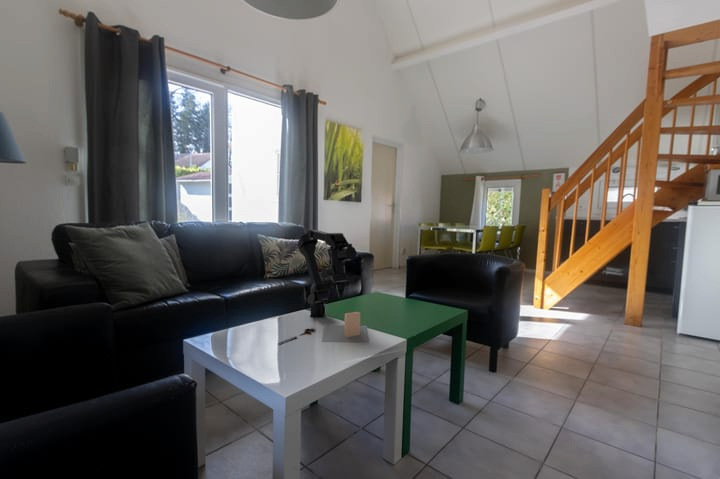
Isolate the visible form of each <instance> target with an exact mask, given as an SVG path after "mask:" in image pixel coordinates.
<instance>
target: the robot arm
mask: <svg viewBox="0 0 720 479" xmlns="http://www.w3.org/2000/svg"><path fill="white" fill-rule="evenodd" d="M319 241H320V242H321V241H322V242H325V244H326V245H327V246H329V248H328V249H327V252H328V253H330V261H331V263H330V268H325V267H324V268H321V271H320V270H319V266H318V262H317V259H316V255H315V253H316V250H317V244H318V243H319ZM296 245H297V248H298V250H299V252H300V254H301V255H303V257H304V260H305V262H306V263H305V264H306V268H307V271H308V274H309V279H310V282H311V286H310V289H309V291H310V294H309V295H308V296H307V298H306V300H307V304H310V315H309V318H324V317H325V315H326V311H327V310H326V309H327V308H326V307H327V306H326V304H327V303H328V302H329V299H330V289H329V287H328V286H329V285H328V283H327V282H323V280H325V279H327V278H328V277H330V280H331V281H332V283H333V284H334V285H335V286H336V290H337V293H338V297H339V298H342V297H343V294H344V291H345V288H346V284H347V281H349V275H347V273H346V267H345V266H346V263H345V261H353V260H355V259H356V258H357V254H358V253H357V249H356V248H355V247H354V246H353V244H352V243H349V242H348V240H347V238H346V237H345V235H344V233H342V232H326V231H322V230H319V229H308V231H307V232H306V233H305V234H303V235H302V236H300V238H299V239H298V241H297V244H296Z"/></svg>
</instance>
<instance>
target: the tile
mask: <svg viewBox="0 0 720 479" xmlns="http://www.w3.org/2000/svg"><path fill="white" fill-rule="evenodd" d="M343 325H344V336H345V337H352V336H357V335H360V326H361V312H359V311H353V312H346V313H344V324H343Z"/></svg>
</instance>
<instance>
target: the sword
mask: <svg viewBox="0 0 720 479" xmlns="http://www.w3.org/2000/svg"><path fill="white" fill-rule="evenodd" d="M316 329H317V328H316V327H315V328H313V327H312V328H305V330H304V332H303V333H301V334H299V335H298V337H301V336H305V335H312V333H313V332H316ZM294 339H297V336H296V335H295V336H292V337H290V338H286V339H284V340H282V341H280V342H278V343H277V345H278V346H281V345H283V344H286V343H287V342H289V341H291V340H294Z"/></svg>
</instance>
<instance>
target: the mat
mask: <svg viewBox="0 0 720 479" xmlns="http://www.w3.org/2000/svg"><path fill="white" fill-rule="evenodd" d="M322 334H323V335H322V338H321V342H322V343H323V342H324V343H364V344H365V343H368V344H369V343H370V338H369V329H368V325H360V335H357V336H352V337H345V336H344V324H343V325H342V324H341V325H340V324H325V326H324V330H323V333H322Z"/></svg>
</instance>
